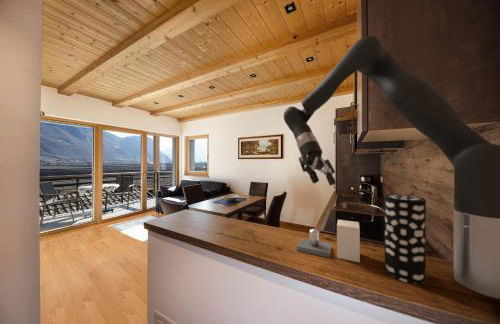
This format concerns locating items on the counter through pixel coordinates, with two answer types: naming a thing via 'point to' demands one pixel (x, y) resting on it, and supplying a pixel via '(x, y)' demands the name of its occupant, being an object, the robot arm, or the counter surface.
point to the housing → (348, 240)
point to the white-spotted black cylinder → (405, 238)
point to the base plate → (314, 250)
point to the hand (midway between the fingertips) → (324, 183)
